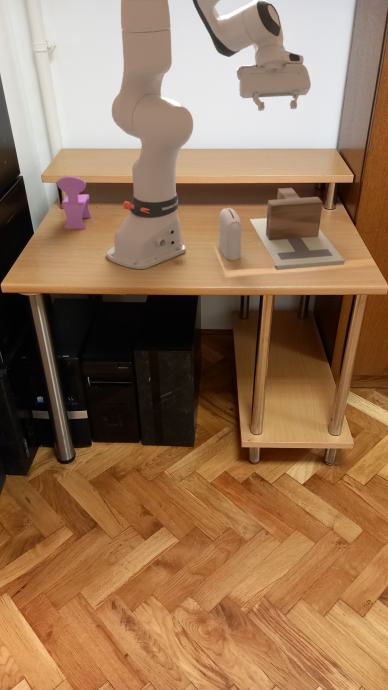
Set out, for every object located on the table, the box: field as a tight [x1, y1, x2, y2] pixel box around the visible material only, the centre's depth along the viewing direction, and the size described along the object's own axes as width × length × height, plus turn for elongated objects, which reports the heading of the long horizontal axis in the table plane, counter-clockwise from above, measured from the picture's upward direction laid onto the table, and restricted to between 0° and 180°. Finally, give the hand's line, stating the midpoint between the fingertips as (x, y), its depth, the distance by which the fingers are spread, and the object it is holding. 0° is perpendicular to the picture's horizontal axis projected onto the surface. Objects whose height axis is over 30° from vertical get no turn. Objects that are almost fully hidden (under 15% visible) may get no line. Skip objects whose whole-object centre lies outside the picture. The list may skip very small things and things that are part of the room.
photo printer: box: [218, 207, 242, 261], centre depth 151 cm, size 10×4×12 cm, turn 11°
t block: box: [266, 187, 324, 240], centre depth 162 cm, size 12×14×10 cm
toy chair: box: [56, 175, 92, 230], centre depth 169 cm, size 8×9×15 cm
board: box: [249, 217, 345, 271], centre depth 160 cm, size 30×18×1 cm, turn 9°
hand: (277, 108), depth 163 cm, fingers open, 8 cm apart
